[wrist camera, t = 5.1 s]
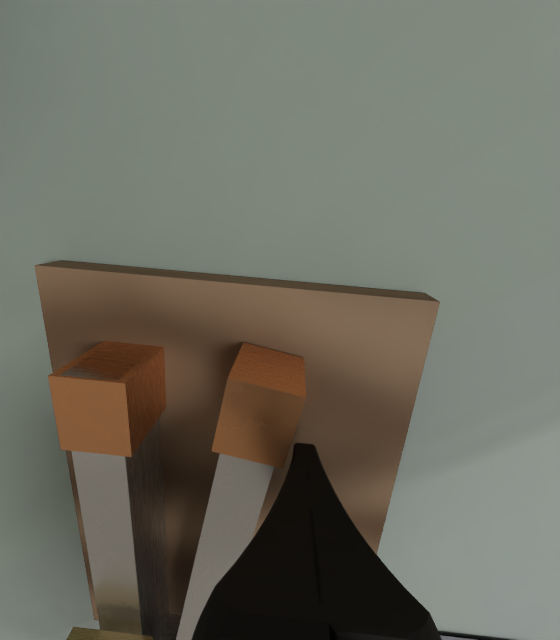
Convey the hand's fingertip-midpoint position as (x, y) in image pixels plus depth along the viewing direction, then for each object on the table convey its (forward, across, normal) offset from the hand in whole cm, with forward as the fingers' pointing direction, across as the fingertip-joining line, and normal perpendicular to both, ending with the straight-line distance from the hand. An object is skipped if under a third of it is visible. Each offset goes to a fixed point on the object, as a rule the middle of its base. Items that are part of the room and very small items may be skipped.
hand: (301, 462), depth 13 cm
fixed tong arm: (+1, +5, +5) cm, 8 cm away
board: (+3, +3, +4) cm, 6 cm away
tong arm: (+1, +3, +4) cm, 6 cm away
